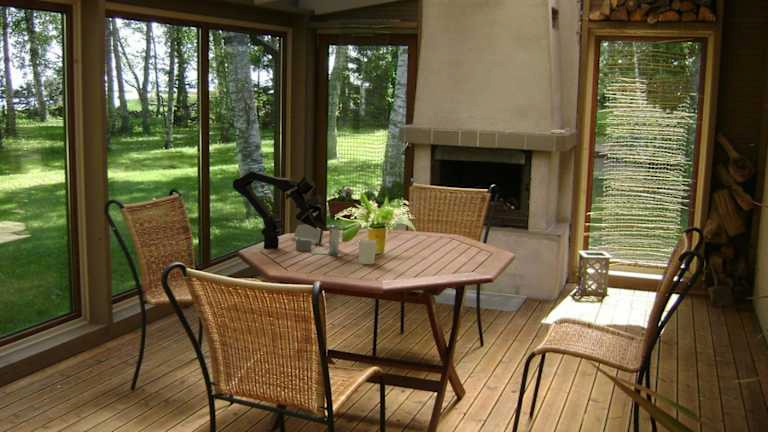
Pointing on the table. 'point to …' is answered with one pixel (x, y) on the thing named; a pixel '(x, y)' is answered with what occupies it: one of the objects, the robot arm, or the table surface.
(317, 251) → the pad
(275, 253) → the table surface
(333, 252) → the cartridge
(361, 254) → the white cup
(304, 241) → the unit
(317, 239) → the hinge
